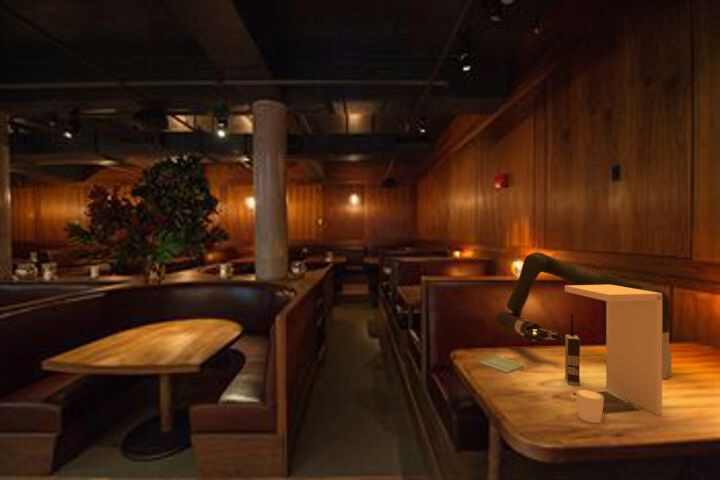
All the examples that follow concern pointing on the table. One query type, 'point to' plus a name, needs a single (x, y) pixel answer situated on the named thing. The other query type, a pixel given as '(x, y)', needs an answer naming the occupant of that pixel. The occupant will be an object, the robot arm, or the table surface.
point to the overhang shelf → (630, 346)
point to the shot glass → (589, 405)
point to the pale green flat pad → (501, 364)
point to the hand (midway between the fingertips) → (552, 340)
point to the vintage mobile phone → (572, 357)
